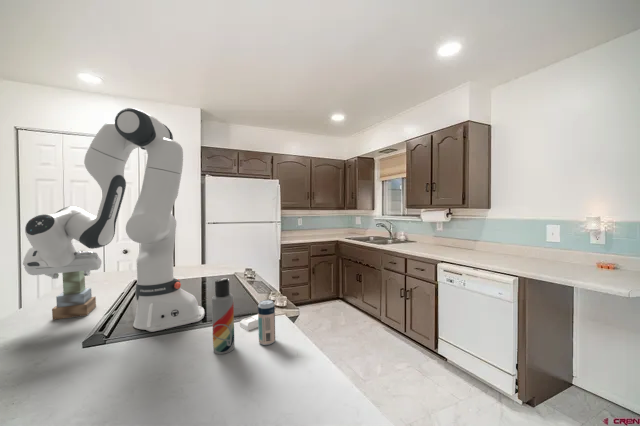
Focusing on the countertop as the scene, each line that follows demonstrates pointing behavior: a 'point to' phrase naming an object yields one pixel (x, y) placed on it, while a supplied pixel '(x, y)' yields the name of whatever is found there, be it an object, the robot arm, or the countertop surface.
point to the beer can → (266, 322)
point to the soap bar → (249, 322)
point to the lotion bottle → (223, 317)
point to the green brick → (73, 282)
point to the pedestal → (74, 305)
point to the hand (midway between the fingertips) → (72, 275)
